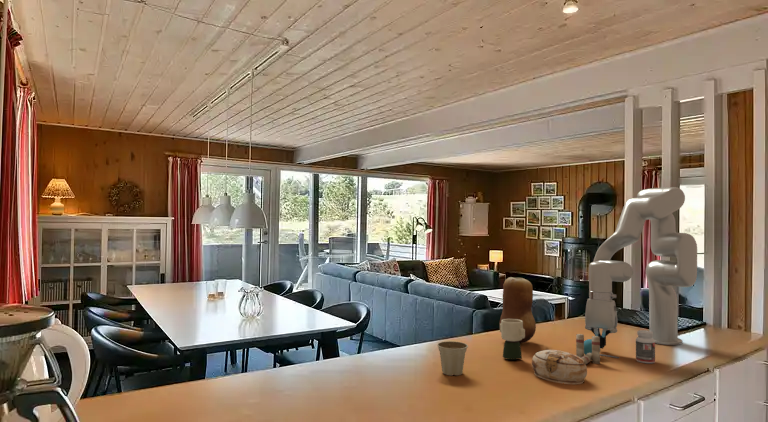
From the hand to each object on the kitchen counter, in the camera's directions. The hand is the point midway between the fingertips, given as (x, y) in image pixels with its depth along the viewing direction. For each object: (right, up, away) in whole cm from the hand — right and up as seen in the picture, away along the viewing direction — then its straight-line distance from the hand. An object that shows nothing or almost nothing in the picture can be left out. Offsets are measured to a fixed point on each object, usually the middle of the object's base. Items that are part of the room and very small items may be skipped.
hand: (601, 347), depth 175 cm
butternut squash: (-26, -2, +13) cm, 30 cm away
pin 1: (-12, -1, -11) cm, 16 cm away
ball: (-7, +2, -7) cm, 10 cm away
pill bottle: (+9, -1, -12) cm, 16 cm away
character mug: (-34, -1, -10) cm, 36 cm away
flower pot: (-57, -1, -25) cm, 62 cm away
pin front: (-8, 0, -11) cm, 14 cm away
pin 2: (-8, -1, -14) cm, 16 cm away
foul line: (-3, -1, -4) cm, 5 cm away
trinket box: (-26, -1, -29) cm, 39 cm away
